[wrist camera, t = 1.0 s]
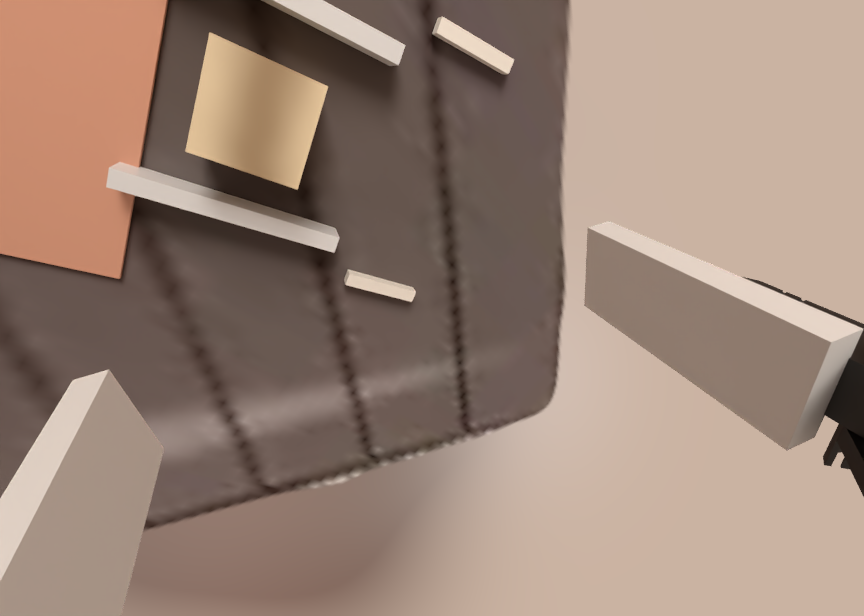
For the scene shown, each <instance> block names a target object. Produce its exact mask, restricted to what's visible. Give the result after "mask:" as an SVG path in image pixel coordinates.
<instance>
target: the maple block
mask: <svg viewBox="0 0 864 616" xmlns="http://www.w3.org/2000/svg"><path fill="white" fill-rule="evenodd" d="M327 89H328V86H326V85H324V84H322V83H319V82H317V81H315V80H313V79H311V78H308V77H306V76H304V75H302V74H300V73H298V72H295V71H293V70H291V69H289V68H287V67H284V66H282V65H280V64H278V63H276V62H274V61H271V60H269V59H267V58H265V57H263V56H261V55H258V54H256V53H254V52H252V51H250V50H247V49H245V48H243V47H241V46H239V45H237V44H234V43H232V42H230V41H228V40H226V39H223V38H221V37H219V36H217V35H215V34H213V33H209V38H208V43H207V48H206V52H205V57H204V62H203V67H202V72H201V77H200V82H199V87H198V92H197V97H196V102H195V107H194V112H193V116H192V121H191V126H190V131H189V136H188V141H187V146H186V151H185V152H188V153H191V154H194V155H197V156H200V157H203V158H206V159H209V160H212V161H215V162H218V163H220V164H223V165H226V166H229V167H232V168H235V169H238V170H241V171H244V172H247V173H250V174H253V175H256V176H259V177H261V178H264V179H267V180H270V181H273V182H276V183H279V184H282V185H285V186H288V187H291V188H294V189H297V190H298V187H299V183H300V180H301V177H302V173H303V170H304V167H305V163H306V160H307V157H308V153H309V150H310V146H311V143H312V140H313V136H314V133H315V130H316V126H317V123H318V120H319V116H320V113H321V109H322V106H323V103H324V99H325V96H326V93H327Z"/></svg>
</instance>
